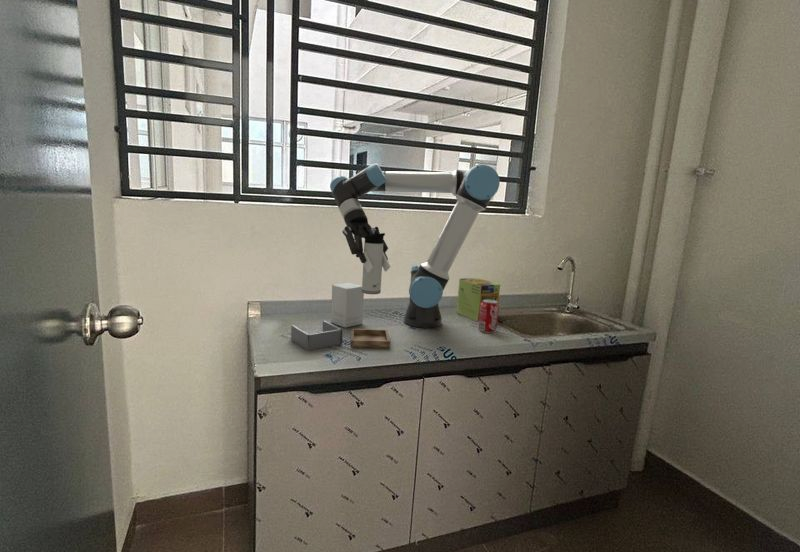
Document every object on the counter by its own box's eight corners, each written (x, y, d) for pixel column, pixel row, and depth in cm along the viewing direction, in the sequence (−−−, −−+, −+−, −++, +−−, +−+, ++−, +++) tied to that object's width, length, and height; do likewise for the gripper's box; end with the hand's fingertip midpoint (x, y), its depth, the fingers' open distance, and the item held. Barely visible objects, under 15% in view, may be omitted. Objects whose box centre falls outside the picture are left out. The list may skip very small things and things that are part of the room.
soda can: (498, 330, 173) (501, 300, 171) (494, 335, 167) (497, 304, 165) (480, 327, 176) (483, 297, 174) (475, 331, 170) (478, 301, 168)
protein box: (478, 322, 183) (481, 285, 180) (455, 312, 196) (458, 278, 194) (497, 320, 188) (501, 284, 185) (474, 310, 201) (477, 277, 199)
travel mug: (378, 295, 144) (382, 234, 140) (359, 293, 145) (362, 232, 142) (383, 291, 150) (387, 232, 147) (364, 289, 151) (367, 231, 148)
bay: (342, 344, 147) (342, 329, 146) (307, 350, 139) (307, 335, 138) (324, 334, 156) (324, 320, 155) (291, 339, 148) (291, 325, 147)
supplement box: (363, 324, 171) (365, 286, 168) (345, 328, 164) (346, 288, 162) (348, 318, 177) (349, 282, 174) (330, 322, 170) (331, 284, 168)
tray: (386, 336, 158) (387, 329, 157) (389, 348, 145) (390, 341, 145) (351, 335, 156) (351, 328, 156) (351, 347, 144) (351, 340, 143)
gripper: (371, 222, 161) (396, 274, 152) (325, 221, 149) (349, 278, 140) (381, 208, 156) (407, 261, 147) (333, 207, 144) (359, 264, 135)
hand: (379, 269), depth 143 cm, fingers closed on travel mug, 6 cm apart
